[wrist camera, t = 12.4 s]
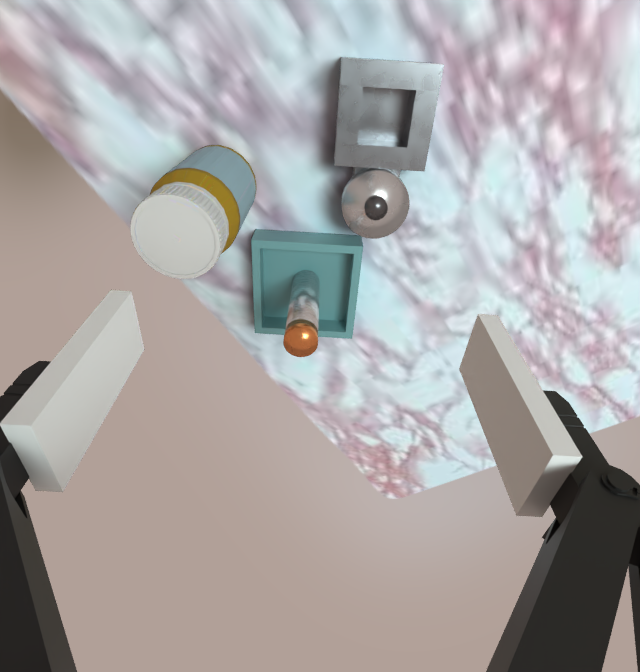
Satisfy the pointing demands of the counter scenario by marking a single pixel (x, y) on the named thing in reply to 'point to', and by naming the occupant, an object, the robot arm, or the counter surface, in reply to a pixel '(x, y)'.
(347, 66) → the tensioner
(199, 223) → the bottle
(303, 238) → the tray
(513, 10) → the counter surface
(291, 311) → the pin
